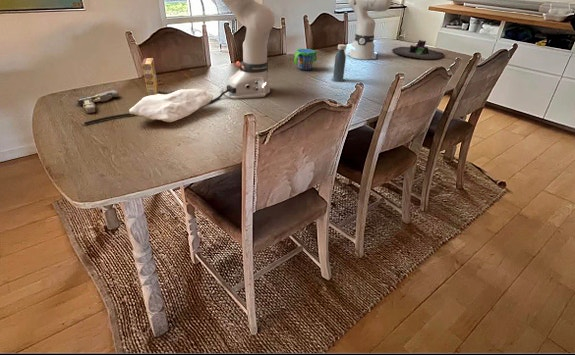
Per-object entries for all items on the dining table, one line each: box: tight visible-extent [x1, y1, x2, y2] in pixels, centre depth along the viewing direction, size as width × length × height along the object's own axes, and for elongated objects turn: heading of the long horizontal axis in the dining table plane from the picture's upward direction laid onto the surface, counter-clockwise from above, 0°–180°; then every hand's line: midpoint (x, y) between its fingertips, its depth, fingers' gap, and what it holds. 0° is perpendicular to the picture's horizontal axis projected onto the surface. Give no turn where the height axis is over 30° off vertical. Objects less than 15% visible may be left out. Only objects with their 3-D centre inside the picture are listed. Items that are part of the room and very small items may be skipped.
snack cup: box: [293, 48, 318, 71], centre depth 208 cm, size 16×10×10 cm
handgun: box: [76, 89, 120, 114], centre depth 155 cm, size 3×18×15 cm
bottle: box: [332, 49, 347, 83], centre depth 191 cm, size 6×6×18 cm
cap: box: [337, 43, 347, 51], centre depth 186 cm, size 4×4×2 cm
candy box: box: [141, 57, 160, 96], centre depth 163 cm, size 9×4×15 cm, turn 13°
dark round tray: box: [391, 39, 445, 60], centre depth 250 cm, size 35×35×9 cm
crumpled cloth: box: [128, 88, 214, 123], centre depth 147 cm, size 24×35×9 cm
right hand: (363, 5), depth 193 cm, fingers open, 8 cm apart
